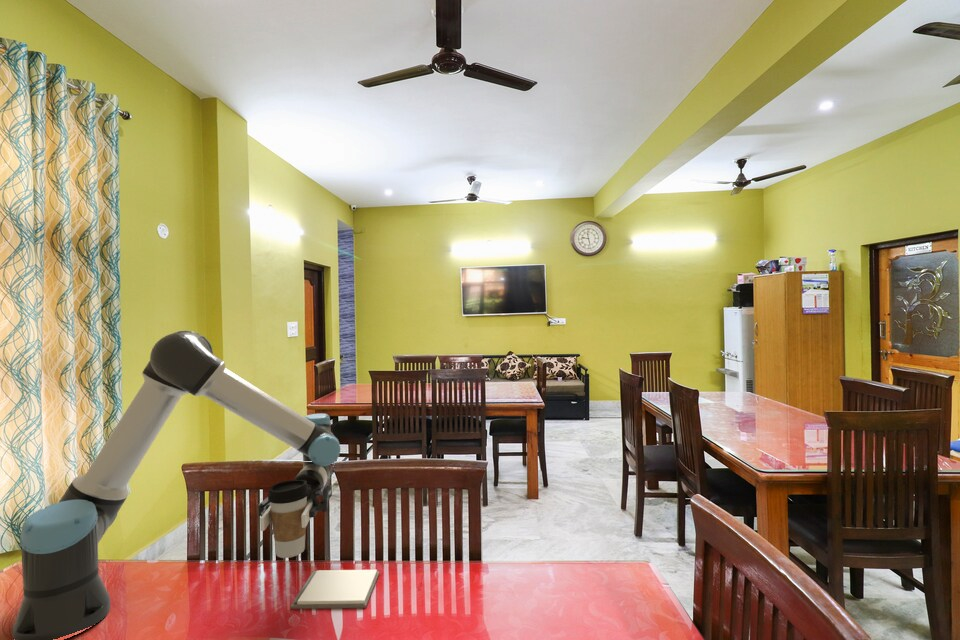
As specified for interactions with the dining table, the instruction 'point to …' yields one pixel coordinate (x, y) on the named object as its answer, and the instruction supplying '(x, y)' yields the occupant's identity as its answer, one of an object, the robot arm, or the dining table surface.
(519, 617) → the dining table surface
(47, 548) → the robot arm
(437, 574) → the dining table surface
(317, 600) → the notepad
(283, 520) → the coffee cup
